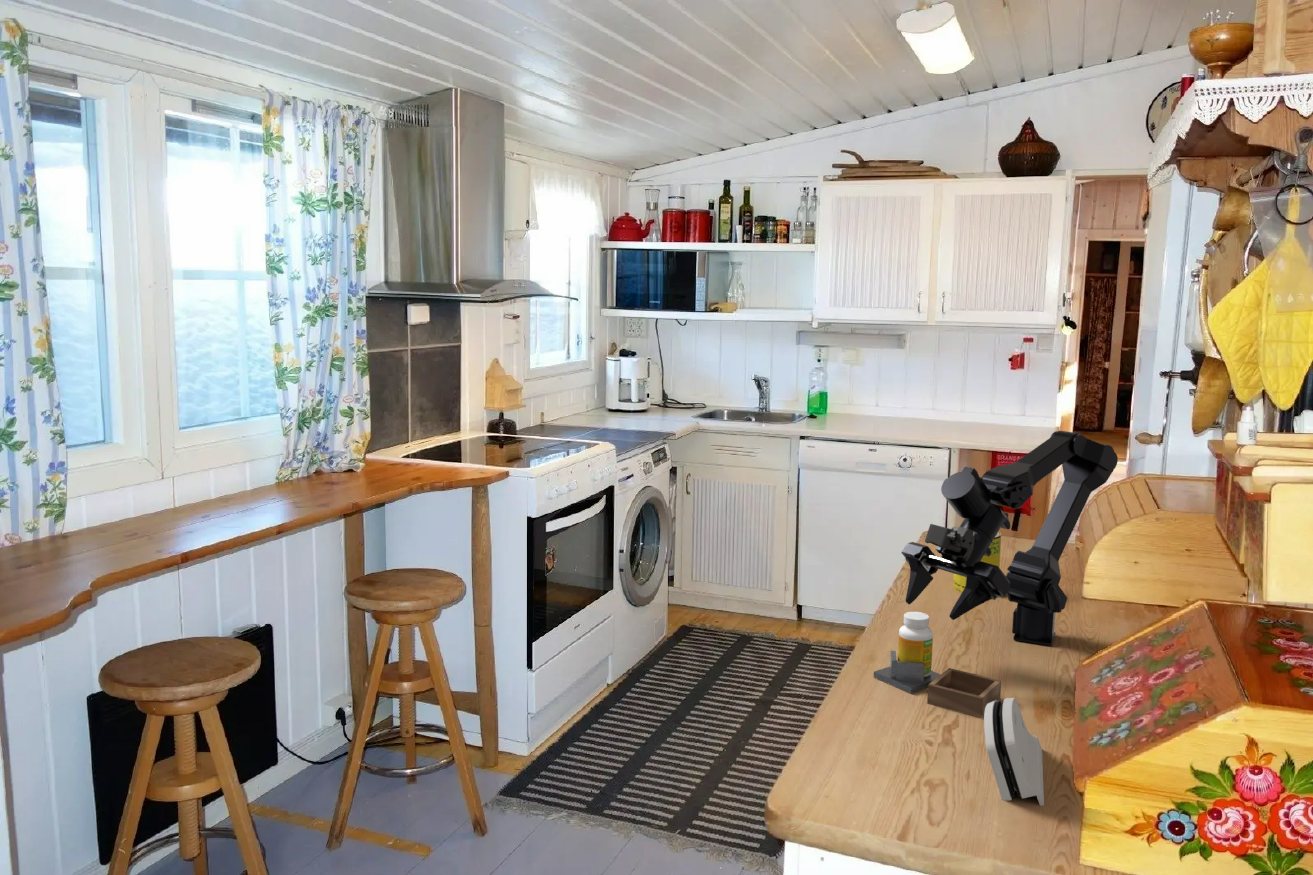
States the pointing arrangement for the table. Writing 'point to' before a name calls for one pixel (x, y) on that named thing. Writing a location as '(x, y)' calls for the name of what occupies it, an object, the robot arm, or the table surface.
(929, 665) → the supplement bottle
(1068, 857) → the table surface
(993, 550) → the beverage can
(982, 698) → the block
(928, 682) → the v-block
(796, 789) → the table surface
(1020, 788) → the white black-striped casing block
